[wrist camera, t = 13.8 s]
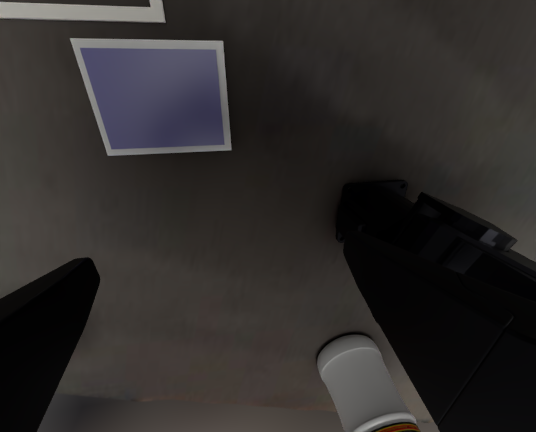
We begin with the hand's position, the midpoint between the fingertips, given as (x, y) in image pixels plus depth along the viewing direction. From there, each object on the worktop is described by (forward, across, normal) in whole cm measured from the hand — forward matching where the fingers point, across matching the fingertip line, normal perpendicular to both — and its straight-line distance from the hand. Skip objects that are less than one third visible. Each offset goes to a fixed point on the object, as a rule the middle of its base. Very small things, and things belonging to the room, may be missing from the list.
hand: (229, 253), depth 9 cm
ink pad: (+13, +4, -4) cm, 14 cm away
